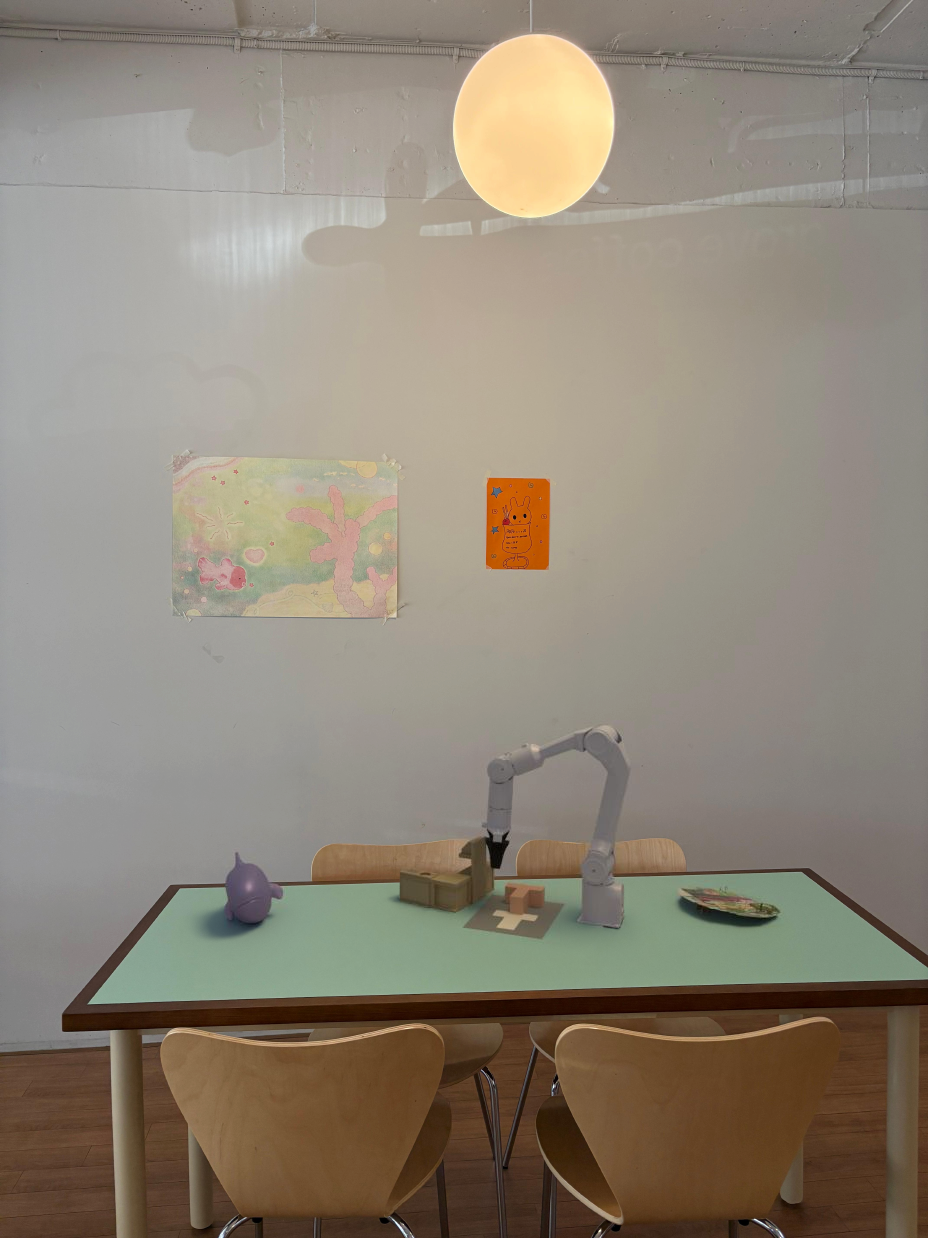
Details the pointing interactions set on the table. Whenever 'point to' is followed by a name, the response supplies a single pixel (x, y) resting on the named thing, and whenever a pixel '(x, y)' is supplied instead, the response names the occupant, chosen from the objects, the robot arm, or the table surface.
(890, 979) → the table surface
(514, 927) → the mat
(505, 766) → the robot arm
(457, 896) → the toy kitchen set
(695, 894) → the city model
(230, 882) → the toy whale
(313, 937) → the table surface
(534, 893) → the t block
